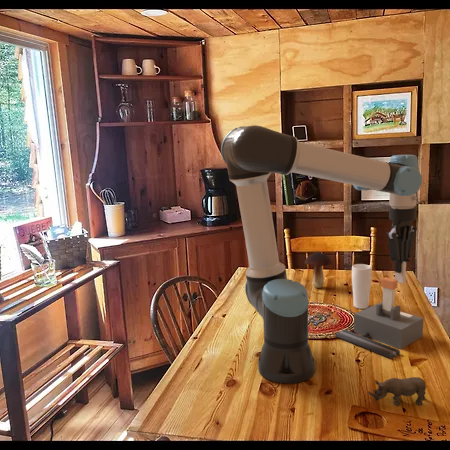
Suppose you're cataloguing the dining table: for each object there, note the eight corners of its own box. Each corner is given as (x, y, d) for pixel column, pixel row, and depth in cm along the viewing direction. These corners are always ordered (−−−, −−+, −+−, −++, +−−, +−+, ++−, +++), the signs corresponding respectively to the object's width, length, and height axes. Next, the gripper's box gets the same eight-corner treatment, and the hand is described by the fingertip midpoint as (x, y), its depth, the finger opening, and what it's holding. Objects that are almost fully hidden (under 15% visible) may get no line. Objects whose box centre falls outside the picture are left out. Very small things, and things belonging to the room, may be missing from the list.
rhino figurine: (364, 398, 105) (365, 374, 104) (422, 395, 105) (423, 372, 104) (370, 408, 101) (371, 384, 100) (430, 405, 101) (431, 381, 100)
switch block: (400, 349, 127) (401, 318, 125) (353, 331, 140) (354, 303, 138) (422, 336, 134) (423, 307, 133) (376, 321, 147) (376, 293, 145)
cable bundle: (391, 359, 122) (391, 355, 121) (334, 336, 137) (334, 332, 137) (407, 350, 126) (407, 346, 126) (350, 329, 142) (350, 325, 141)
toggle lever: (391, 317, 134) (392, 281, 131) (380, 313, 137) (381, 278, 135) (396, 315, 135) (397, 280, 133) (384, 311, 138) (385, 277, 136)
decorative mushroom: (299, 286, 184) (299, 251, 181) (321, 281, 189) (321, 247, 186) (315, 294, 174) (315, 257, 171) (338, 289, 179) (338, 253, 176)
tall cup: (368, 303, 163) (369, 263, 160) (372, 310, 156) (373, 269, 153) (349, 303, 163) (350, 264, 160) (353, 310, 157) (353, 269, 154)
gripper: (402, 211, 126) (399, 289, 131) (426, 205, 134) (422, 279, 139) (378, 208, 132) (377, 284, 137) (403, 203, 140) (400, 274, 144)
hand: (400, 281), depth 138 cm, fingers closed
